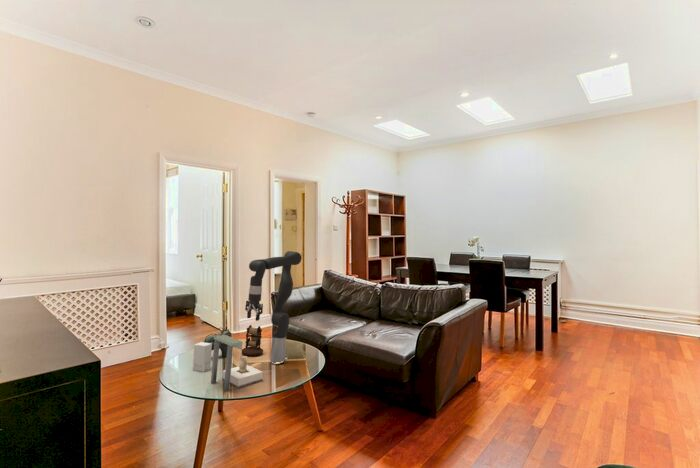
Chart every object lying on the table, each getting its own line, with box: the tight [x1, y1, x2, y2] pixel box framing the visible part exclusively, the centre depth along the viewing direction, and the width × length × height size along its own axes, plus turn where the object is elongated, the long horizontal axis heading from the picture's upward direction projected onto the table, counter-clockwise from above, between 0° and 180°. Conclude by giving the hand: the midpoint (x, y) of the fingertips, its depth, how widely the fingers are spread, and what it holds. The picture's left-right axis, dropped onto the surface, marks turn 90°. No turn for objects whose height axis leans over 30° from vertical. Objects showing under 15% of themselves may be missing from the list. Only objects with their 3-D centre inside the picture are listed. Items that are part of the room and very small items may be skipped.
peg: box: [239, 355, 248, 374], centre depth 198 cm, size 4×4×12 cm
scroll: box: [241, 324, 264, 357], centre depth 245 cm, size 15×15×20 cm
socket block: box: [221, 364, 264, 389], centre depth 198 cm, size 16×16×5 cm
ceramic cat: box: [203, 327, 233, 358], centre depth 230 cm, size 20×6×20 cm, turn 139°
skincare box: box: [192, 341, 213, 373], centre depth 209 cm, size 8×7×16 cm
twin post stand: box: [210, 335, 243, 392], centre depth 189 cm, size 7×17×25 cm, turn 52°
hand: (253, 319), depth 211 cm, fingers open, 8 cm apart
